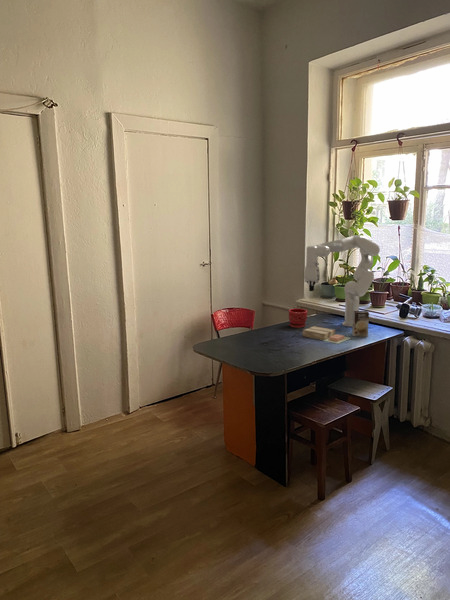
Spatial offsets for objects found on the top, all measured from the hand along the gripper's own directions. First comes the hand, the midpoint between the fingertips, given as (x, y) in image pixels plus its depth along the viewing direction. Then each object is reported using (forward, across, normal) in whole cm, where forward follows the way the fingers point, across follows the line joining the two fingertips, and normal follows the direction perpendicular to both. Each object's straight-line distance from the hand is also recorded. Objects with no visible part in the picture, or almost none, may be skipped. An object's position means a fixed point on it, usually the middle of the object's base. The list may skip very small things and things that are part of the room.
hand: (311, 290), depth 306 cm
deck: (+27, -14, +12) cm, 33 cm away
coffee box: (+27, -34, -6) cm, 44 cm away
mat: (+27, -28, +12) cm, 40 cm away
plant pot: (+27, +11, 0) cm, 30 cm away
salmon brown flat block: (+25, -28, +13) cm, 39 cm away
